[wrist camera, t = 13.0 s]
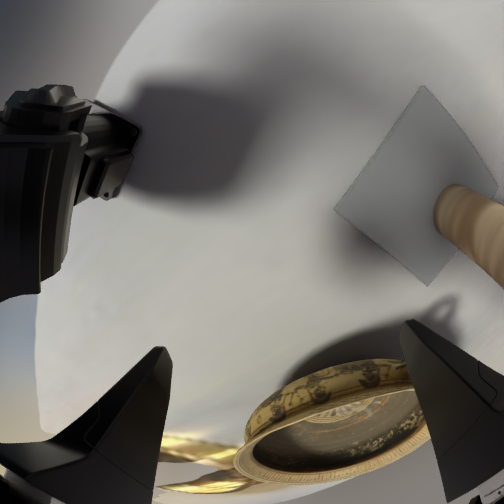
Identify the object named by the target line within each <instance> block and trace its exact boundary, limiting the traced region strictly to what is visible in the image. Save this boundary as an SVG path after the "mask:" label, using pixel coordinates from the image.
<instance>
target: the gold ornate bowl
mask: <svg viewBox="0 0 504 504" xmlns="http://www.w3.org/2000/svg"><path fill="white" fill-rule="evenodd" d="M430 438H431V437H430V434H429V431H428V428H427V425H426V422H425V419H424V416H423V413H422V410H421V407H420V404H419V401H418V398H417V395H416V393H415V390H414V387H413V385H412V382H411V379H410V377H409V374H408V370H407V367H406V363H405V361H401V360H397V359H367V360H361V361H354V362H349V363H344V364H340V365H336V366H332V367H329V368H326V369H323V370H320V371H317V372H315V373H312V374H310V375H307V376H304V377H302V378H300V379H298V380H296V381H294V382H292V383H290V384H288V385H287V386H285V387H283V388H282V389H280V390H278V391H276V392H275V393H274V394H272V395H271V396H270V397H268V398H267V399H266V400H265V401H264V402H263V403H261V404H260V405H259V406H258V408H257V409H256V410H255V411H254V412H253V414H252V415H251V417H250V419H249V420H248V423H247V425H246V429H245V445H244V446H243V447H241V448H240V449H239V450H238V451H237V453H236V455H235V457H234V461H233V464H234V466H235V468H236V469H237V470H238V471H239V472H240V473H241V474H242V475H244V476H247V477H249V478H251V479H254V480H258V481H261V482H266V483H274V484H282V485H309V484H318V483H326V482H332V481H337V480H342V479H347V478H351V477H355V476H358V475H361V474H364V473H367V472H370V471H373V470H376V469H378V468H381V467H383V466H385V465H388V464H390V463H392V462H394V461H396V460H398V459H400V458H402V457H403V456H405V455H407V454H409V453H410V452H412V451H413V450H415V449H416V448H418V447H419V446H421V445H422V444H423V443H425V442H426V441H427V440H428V439H430Z"/></svg>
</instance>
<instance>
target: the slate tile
mask: <svg viewBox="0 0 504 504" xmlns="http://www.w3.org/2000/svg"><path fill="white" fill-rule="evenodd" d="M452 184H460V185H462V186H464V187H467V188H469V189H471V190H473V191H475V192H477V193H479V194H481V195H483V196H485V197H487V198H489V199H492V198H493V196H494V194H495V193H496V191H497V189H498V185H497V183H496V181H495V179H494V178H493V176H492V174H491V173H490V171H489V169H488V168H487V166H486V164H485V163H484V161H483V160H482V158H481V157H480V155H479V153H478V152H477V150H476V149H475V148H474V146H473V145H472V143H471V142H470V140H469V139H468V137H467V136H466V135H465V133H464V132H463V131H462V129H461V128H460V127H459V125H458V124H457V123H456V121H455V120H454V119H453V118H452V116H451V115H450V114H449V113H448V111H447V110H446V109H445V108H444V107H443V105H442V104H441V103H440V102H439V101H438V100H437V99H436V97H435V96H434V95H433V94H432V93H431V92H430V91H429V90H428V89H427V88H426V86H421V87H420V88H419V90H418V91H417V93H416V94H415V96H414V97H413V99H412V100H411V102H410V103H409V105H408V106H407V108H406V109H405V111H404V112H403V114H402V115H401V117H400V118H399V119H398V121H397V122H396V124H395V125H394V127H393V128H392V130H391V131H390V132H389V134H388V135H387V137H386V138H385V140H384V141H383V142H382V144H381V145H380V147H379V148H378V149H377V151H376V152H375V154H374V155H373V156H372V158H371V159H370V161H369V162H368V163H367V165H366V166H365V167H364V169H363V170H362V172H361V173H360V174H359V176H358V177H357V178H356V180H355V181H354V182H353V184H352V185H351V186H350V188H349V189H348V190H347V192H346V193H345V194H344V196H343V197H342V198H341V200H340V201H339V202H338V204H337V205H336V206H335V208H334V209H333V210H334V211H335V212H336V213H338V214H339V215H340V216H342V217H343V218H344V219H346V220H347V221H348V222H350V223H351V224H352V225H354V226H355V227H356V228H357V229H359V230H360V231H361V232H363V233H364V234H365V235H366V236H368V237H369V238H370V239H372V240H373V241H374V242H375V243H377V244H378V245H379V246H380V247H382V248H383V249H384V250H385V251H386V252H388V253H389V254H390V255H391V256H392V257H394V258H395V259H396V260H397V261H398V262H400V263H401V264H402V265H403V266H404V267H406V268H407V269H408V270H409V271H410V272H411V273H412V274H414V275H415V276H416V277H417V278H418V279H419V280H420V281H422V282H423V283H424V284H425V285H426V286H427V287H428V286H429V284H430V283H431V282H432V281H433V280H434V279H435V277H436V276H437V275H438V274H439V273H440V271H441V270H442V269H443V268H444V266H445V265H446V264H447V263H448V261H449V260H450V259H451V257H452V256H453V255H454V254H455V252H456V251H457V250H458V248H457V247H456V246H455V245H454V244H452V243H451V242H450V241H449V240H447V239H446V238H445V237H444V236H442V235H441V234H440V233H439V232H438V231H437V230H436V228H435V225H434V221H433V210H434V206H435V202H436V200H437V198H438V196H439V195H440V193H441V192H442V191H443V190H444V189H445V188H446V187H447V186H449V185H452Z"/></svg>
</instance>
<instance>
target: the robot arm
mask: <svg viewBox="0 0 504 504" xmlns="http://www.w3.org/2000/svg"><path fill="white" fill-rule="evenodd" d="M134 129H136V130H137V134H136V135H134V134H133V130H134ZM141 134H142V129H141V127H140V126H139V125H137V124H135V123H133V122H131V121H129V120H127V119H125V118H123V117H121V116H119V115H118V114H116V113H114V112H112V111H110V110H108V109H106V108H104V107H102V106H100V105H98V104H96V103H94V102H91V101H89V100H87V99H79V98H77V96H75V93H74V89H73V87H72V86H68V85H57V84H47V85H44V86H42V87H40V88H38V89H37V88H31V89H29V90H28V91H20V90H17V91H15V92H14V93H13V94H12V95H11V96H10V97H9V99H8V100H7V101H6V102H5V105H4V110H3V111H0V302H2V301H4V300H6V299H9V298H12V297H15V296H19V295H24V294H25V295H28V294H39V293H40V292H41V282H42V281H44V280H46V279H47V278H49V277H51V276H53V275H55V274H56V273H57V272H58V271H59V270H60V269H61V263H62V262H63V260H64V258H65V256H66V254H67V249H68V240H69V232H70V224H71V217H72V211H73V206H75V205H77V204H79V203H80V202H82V201H84V200H86V199H87V198H89V197H91V198H93V199H95V198H98V197H100V198H102V199H104V200H109V199H111V198H112V197H113V195H114V193H115V190H116V188H117V186H119V185H121V184H122V182H123V179H124V177H125V175H126V173H127V170H128V168H129V166H130V164H131V162H132V160H133V157H134V155H133V153H132V152H133V150H134V148H135V146H136V144H137V142H138V140H139V138H140V136H141ZM106 192H108V193H109V196H107V195H106ZM399 341H400V345H401V349H402V352H403V356H404V359H405V363H406V367H407V370H408V374H409V377H410V379H411V382H412V385H413V387H414V390H415V393H416V395H417V398H418V401H419V404H420V407H421V410H422V413H423V416H424V419H425V422H426V425H427V428H428V431H429V434H430V437H431V441H432V444H433V447H434V451H435V455H436V458H437V460H438V461H437V463H438V466H439V470H440V474H441V478H442V482H443V487H444V492H445V496H446V501H447V503H449V502H451V501H453V500H455V499H457V498H459V497H460V496H462V495H464V494H466V493H468V492H469V491H471V490H473V489H474V488H476V487H477V488H478V491H479V495H477V496H476V497H475V498H473V499H471V500H470V503H469V504H504V376H503V375H501V374H500V373H498V372H496V371H494V370H493V369H491V368H489V367H488V366H486V365H485V364H483V363H482V362H480V361H478V360H477V359H476V358H474V357H472V356H471V355H469V354H468V353H466V352H465V351H463V350H462V349H460V348H459V347H457V346H456V345H454V344H452V343H451V342H449V341H448V340H446V339H445V338H443V337H441V336H440V335H438V334H437V333H435V332H434V331H432V330H430V329H429V328H427V327H426V326H424V325H422V324H421V323H419V322H418V321H416V320H414V319H411V320H406V321H404V322H403V325H402V329H401V333H400V336H399ZM172 368H173V364H172V360H171V358H170V355H169V353H168V351H167V349H166V348H165V347H164V346H156V347H154V348H153V349H152V350H151V351H149V352H148V353H147V354H146V355H145V356H144V357H143V358H142V359H141V360H140V361H139V362H138V363H137V364H136V365H135V366H134V367H133V368H132V369H131V370H129V371H128V372H127V373H126V374H125V375H124V376H123V377H122V378H121V379H120V380H119V381H118V382H117V383H116V384H115V385H114V386H113V387H112V388H111V389H110V390H108V391H107V392H106V393H105V394H104V395H103V396H102V397H101V398H100V399H99V400H98V402H96V403H95V404H94V405H93V406H92V407H90V408H89V409H88V410H87V411H86V412H85V413H84V414H83V415H81V416H80V417H79V418H78V419H77V420H75V421H74V422H73V423H71V424H70V425H69V426H68V427H66V428H65V429H64V430H62V431H61V432H60V433H58V434H57V435H56V436H54V437H53V438H51V439H49V440H46V441H42V442H30V443H0V464H1V465H2V466H4V467H5V468H6V472H5V475H4V477H3V476H2V475H0V504H151V503H152V496H153V491H152V490H153V489H154V482H155V476H156V469H157V464H158V458H159V452H160V447H161V441H162V436H163V430H164V425H165V420H166V415H167V410H168V405H169V400H170V389H171V378H172Z"/></svg>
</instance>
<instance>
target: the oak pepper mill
mask: <svg viewBox="0 0 504 504" xmlns="http://www.w3.org/2000/svg"><path fill="white" fill-rule="evenodd" d="M433 221H434V225H435V228H436V230H437V231H438V232H439V233H440V234H441V235H442V236H444V237H445V238H446V239H447V240H449V241H450V242H451V243H452V244H454V245H455V246H456V247H457V248H459V249H460V250H461V251H462V252H463V253H465V254H466V255H467V256H468V257H469V258H470V259H472V260H473V261H474V262H475V263H476V264H477V265H479V266H480V267H481V268H482V269H483V270H484V271H485V272H486V273H487V274H488V275H490V276H491V277H492V278H493V279H494V280H495V281H496V282H497V283H498V284H499V285H500V286H501V287H502V288H503V289H504V206H502V205H501V204H499V203H497V202H495V201H493V200H491V199H489V198H487V197H485V196H483V195H481V194H479V193H477V192H475V191H473V190H471V189H469V188H467V187H464V186H462V185H460V184H452V185H449V186H447V187H446V188H445V189H444V190H443V191H442V192H441V193H440V195H439V196H438V198H437V200H436V202H435V206H434V210H433Z"/></svg>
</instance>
